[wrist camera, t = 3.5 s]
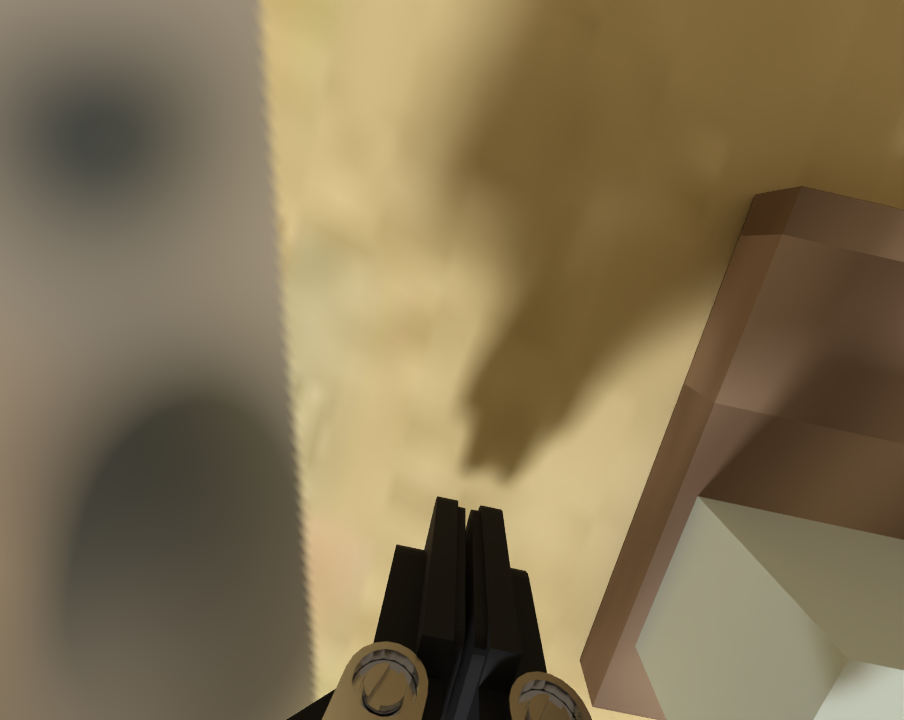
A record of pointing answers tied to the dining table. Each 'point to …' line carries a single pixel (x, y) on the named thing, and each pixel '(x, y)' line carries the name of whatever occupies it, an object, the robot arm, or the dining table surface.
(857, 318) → the track
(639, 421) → the dining table surface
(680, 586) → the sage block
